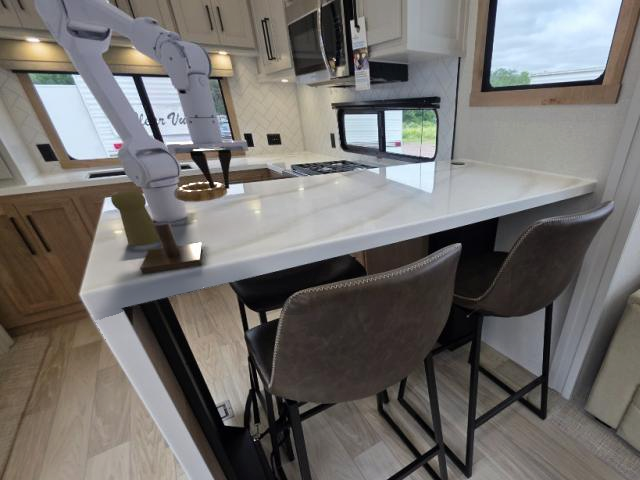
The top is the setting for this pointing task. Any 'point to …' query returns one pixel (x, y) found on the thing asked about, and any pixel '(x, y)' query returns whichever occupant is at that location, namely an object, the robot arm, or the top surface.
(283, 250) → the top surface
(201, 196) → the ring
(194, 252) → the holder
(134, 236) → the cork
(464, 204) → the top surface
